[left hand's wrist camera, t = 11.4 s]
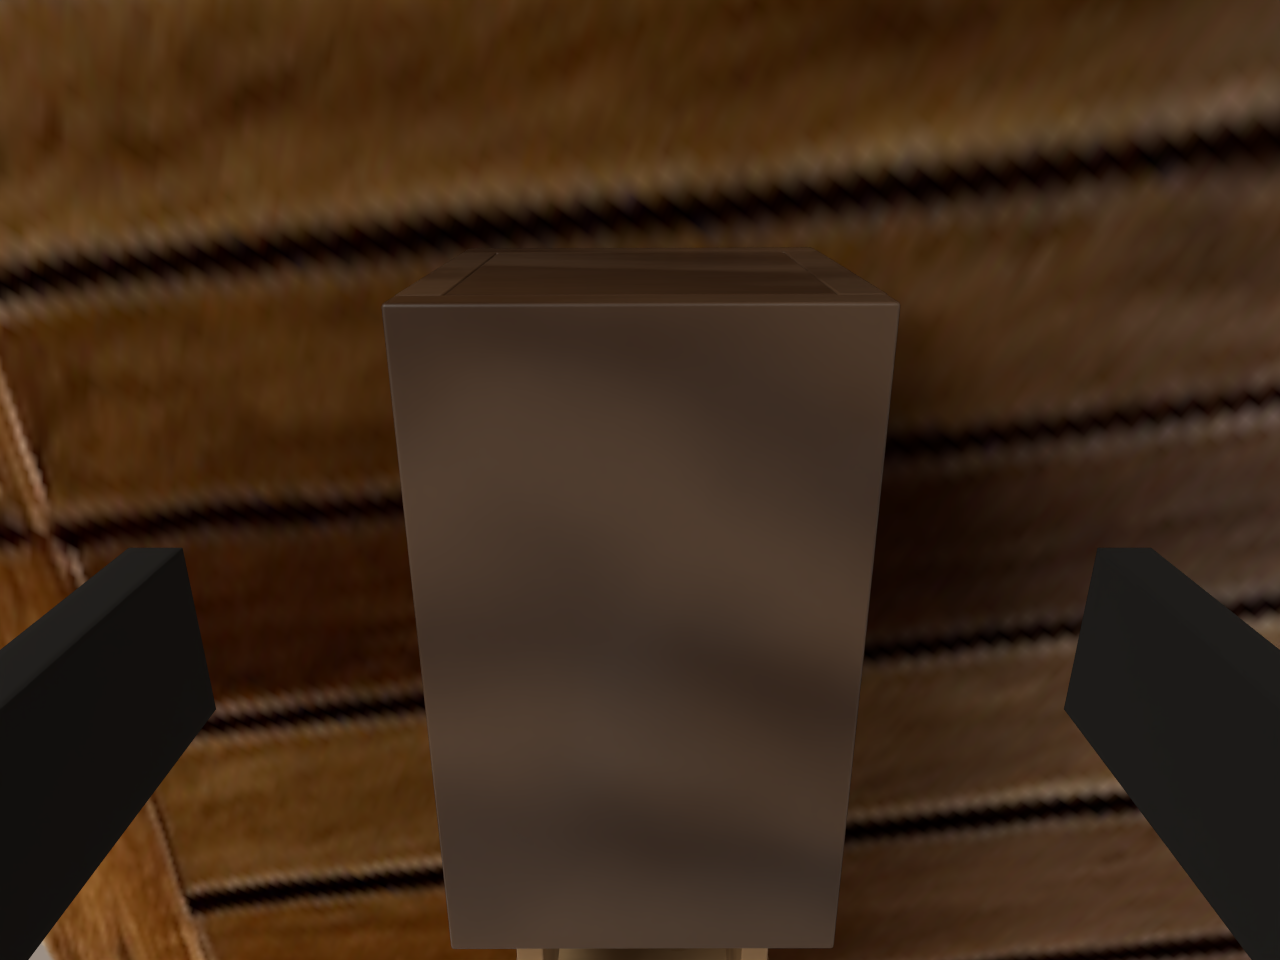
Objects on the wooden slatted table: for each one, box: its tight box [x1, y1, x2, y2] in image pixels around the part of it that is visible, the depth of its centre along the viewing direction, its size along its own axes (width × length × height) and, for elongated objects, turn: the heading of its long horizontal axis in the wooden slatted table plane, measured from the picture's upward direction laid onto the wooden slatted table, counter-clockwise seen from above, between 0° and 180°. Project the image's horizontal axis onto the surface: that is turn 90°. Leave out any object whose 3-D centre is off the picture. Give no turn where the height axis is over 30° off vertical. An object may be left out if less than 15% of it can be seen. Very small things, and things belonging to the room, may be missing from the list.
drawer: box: [517, 948, 768, 960], centre depth 30 cm, size 23×9×8 cm, turn 0°
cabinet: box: [382, 248, 900, 949], centre depth 26 cm, size 18×11×10 cm, turn 0°
